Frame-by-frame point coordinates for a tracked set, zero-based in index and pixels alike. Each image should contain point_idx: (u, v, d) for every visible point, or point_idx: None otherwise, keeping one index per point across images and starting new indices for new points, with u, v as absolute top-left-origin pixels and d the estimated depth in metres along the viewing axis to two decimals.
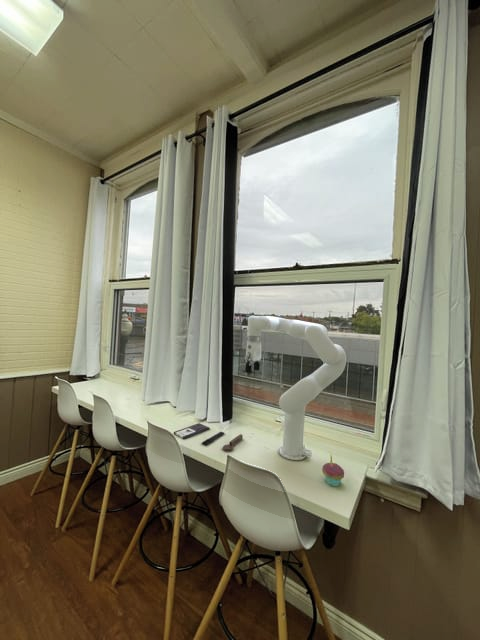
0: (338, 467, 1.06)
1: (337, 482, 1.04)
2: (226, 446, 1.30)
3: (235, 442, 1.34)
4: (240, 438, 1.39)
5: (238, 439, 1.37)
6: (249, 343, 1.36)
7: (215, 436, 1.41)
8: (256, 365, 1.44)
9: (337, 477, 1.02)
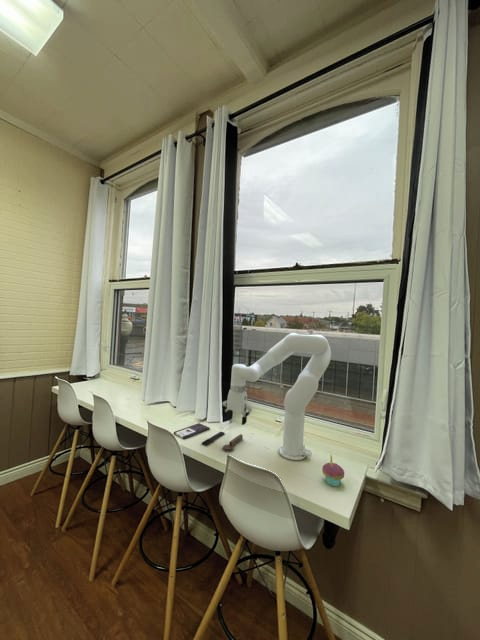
0: (338, 467, 1.06)
1: (337, 482, 1.04)
2: (226, 446, 1.30)
3: (235, 442, 1.34)
4: (240, 438, 1.39)
5: (238, 439, 1.37)
6: (244, 394, 1.33)
7: (215, 436, 1.41)
8: (228, 414, 1.38)
9: (337, 477, 1.02)
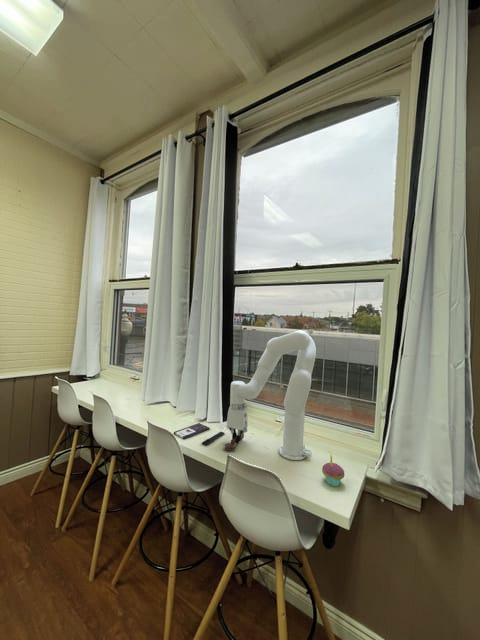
0: (338, 467, 1.06)
1: (337, 482, 1.04)
2: (227, 444, 1.30)
3: None
4: (241, 436, 1.39)
5: None
6: (244, 411, 1.33)
7: (215, 436, 1.41)
8: (235, 436, 1.36)
9: (337, 477, 1.02)
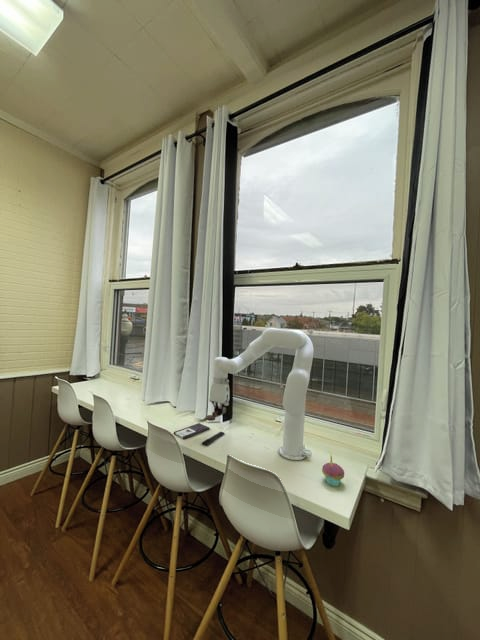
0: (338, 467, 1.06)
1: (337, 482, 1.04)
2: (209, 416, 1.35)
3: None
4: (223, 410, 1.44)
5: None
6: (226, 386, 1.39)
7: (215, 436, 1.41)
8: (217, 409, 1.41)
9: (337, 477, 1.02)
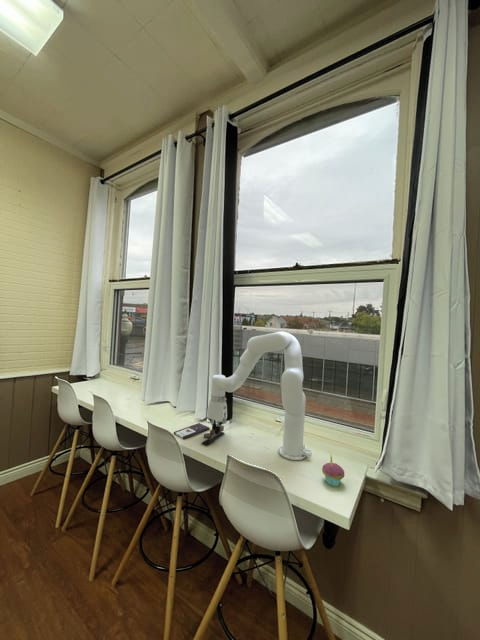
0: (338, 467, 1.06)
1: (337, 482, 1.04)
2: (207, 434, 1.36)
3: None
4: (221, 429, 1.45)
5: None
6: (224, 404, 1.39)
7: (215, 436, 1.41)
8: (215, 427, 1.42)
9: (337, 477, 1.02)
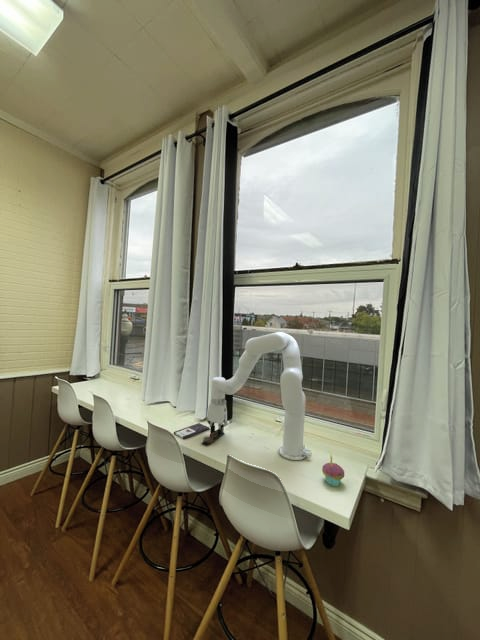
0: (338, 467, 1.06)
1: (337, 482, 1.04)
2: (206, 438, 1.36)
3: (215, 434, 1.40)
4: None
5: None
6: (224, 406, 1.39)
7: None
8: (213, 429, 1.42)
9: (337, 477, 1.02)
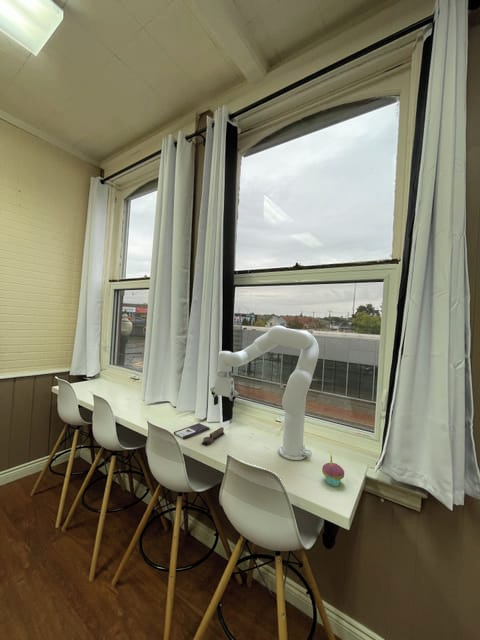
0: (338, 467, 1.06)
1: (337, 482, 1.04)
2: (206, 438, 1.36)
3: (215, 434, 1.40)
4: (221, 431, 1.45)
5: (219, 432, 1.43)
6: (231, 379, 1.39)
7: None
8: (216, 399, 1.44)
9: (337, 477, 1.02)
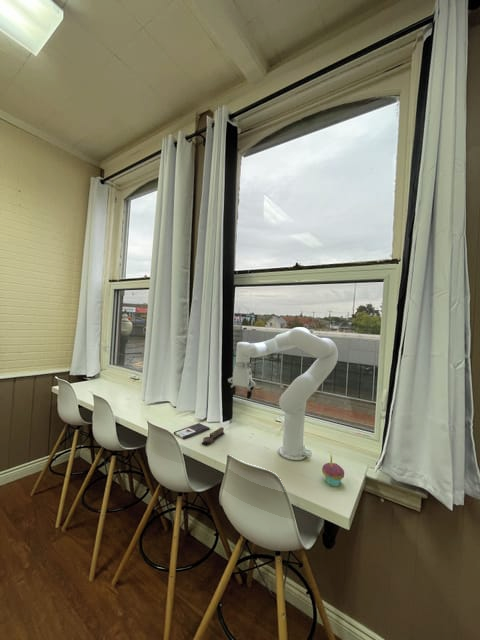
0: (338, 467, 1.06)
1: (337, 482, 1.04)
2: (206, 438, 1.36)
3: (215, 434, 1.40)
4: (221, 431, 1.45)
5: (219, 432, 1.43)
6: (249, 370, 1.41)
7: None
8: (234, 390, 1.45)
9: (337, 477, 1.02)
